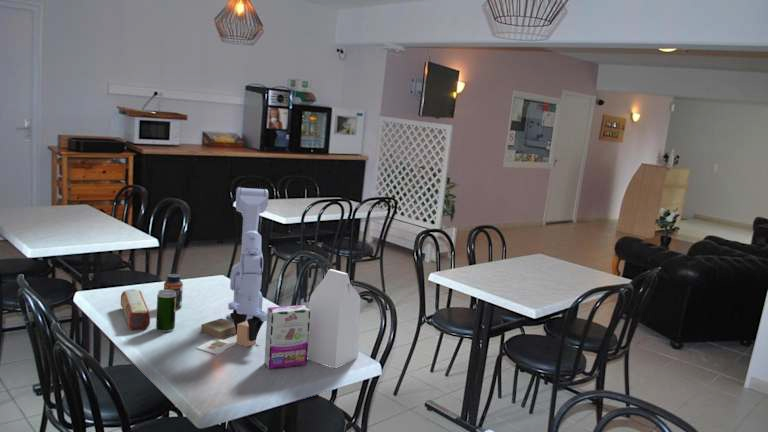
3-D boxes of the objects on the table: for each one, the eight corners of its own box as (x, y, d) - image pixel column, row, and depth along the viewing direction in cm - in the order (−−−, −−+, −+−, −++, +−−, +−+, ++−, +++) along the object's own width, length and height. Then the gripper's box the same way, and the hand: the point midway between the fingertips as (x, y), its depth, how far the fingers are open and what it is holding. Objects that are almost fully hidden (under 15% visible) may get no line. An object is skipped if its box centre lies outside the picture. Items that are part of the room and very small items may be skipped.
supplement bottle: (185, 308, 205) (187, 275, 203) (170, 312, 200) (172, 279, 198) (173, 303, 208) (175, 271, 206) (159, 307, 203) (160, 274, 201)
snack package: (150, 330, 184) (151, 309, 183) (127, 332, 181) (128, 310, 180) (141, 307, 203) (142, 287, 201) (120, 308, 199) (120, 288, 198)
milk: (301, 356, 176) (309, 270, 172) (325, 345, 186) (333, 263, 181) (335, 369, 170) (343, 280, 166) (358, 357, 180) (366, 272, 175)
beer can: (158, 333, 182) (159, 295, 180) (154, 327, 186) (155, 289, 184) (176, 331, 185) (178, 293, 183) (172, 325, 189) (173, 288, 187)
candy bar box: (300, 358, 175) (305, 304, 172) (307, 365, 170) (311, 310, 168) (262, 362, 170) (267, 306, 167) (268, 370, 165) (272, 312, 162)
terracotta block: (245, 339, 184) (247, 320, 183) (255, 343, 182) (256, 324, 181) (236, 343, 181) (237, 323, 180) (246, 346, 179) (247, 327, 178)
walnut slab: (220, 327, 193) (221, 318, 192) (238, 334, 189) (239, 325, 188) (201, 333, 186) (201, 324, 186) (219, 341, 182) (219, 331, 182)
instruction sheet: (216, 338, 182) (216, 337, 182) (235, 344, 180) (235, 343, 180) (196, 348, 174) (196, 347, 174) (216, 354, 172) (216, 353, 172)
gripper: (221, 290, 179) (219, 334, 182) (257, 303, 172) (254, 348, 174) (239, 286, 185) (236, 328, 188) (274, 298, 178) (271, 341, 180)
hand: (246, 337), depth 181 cm, fingers open, 5 cm apart
